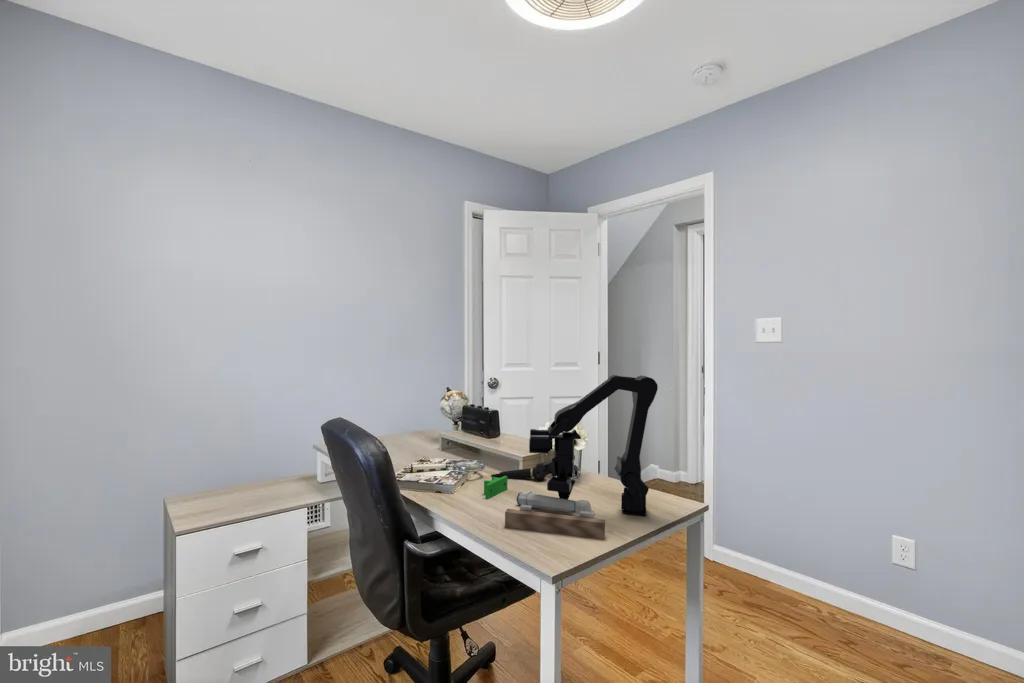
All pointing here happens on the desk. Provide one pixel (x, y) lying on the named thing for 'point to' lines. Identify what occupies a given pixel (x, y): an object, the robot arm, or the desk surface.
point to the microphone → (520, 474)
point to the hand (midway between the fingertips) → (563, 506)
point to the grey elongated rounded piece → (554, 503)
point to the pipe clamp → (494, 486)
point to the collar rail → (555, 522)
